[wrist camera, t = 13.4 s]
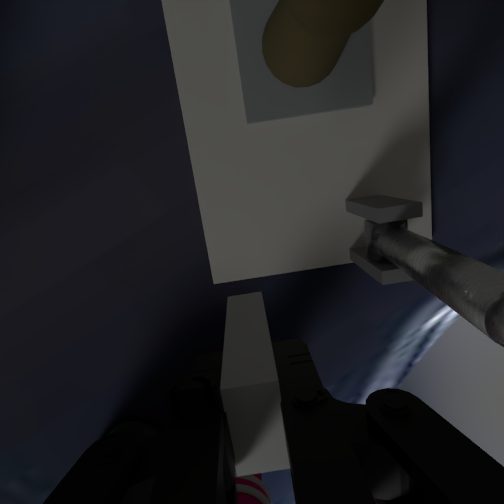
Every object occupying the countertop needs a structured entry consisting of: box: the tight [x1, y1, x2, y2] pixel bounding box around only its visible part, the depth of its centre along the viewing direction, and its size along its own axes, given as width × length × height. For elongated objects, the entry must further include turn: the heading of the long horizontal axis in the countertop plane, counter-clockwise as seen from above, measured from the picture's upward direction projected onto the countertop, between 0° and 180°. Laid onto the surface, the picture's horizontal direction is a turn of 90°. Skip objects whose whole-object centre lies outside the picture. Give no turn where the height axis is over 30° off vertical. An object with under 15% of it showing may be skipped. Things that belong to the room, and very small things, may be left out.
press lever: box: [364, 219, 504, 347], centre depth 17 cm, size 4×4×20 cm
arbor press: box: [162, 0, 432, 285], centre depth 25 cm, size 20×26×8 cm
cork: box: [262, 0, 384, 88], centre depth 20 cm, size 6×6×11 cm
